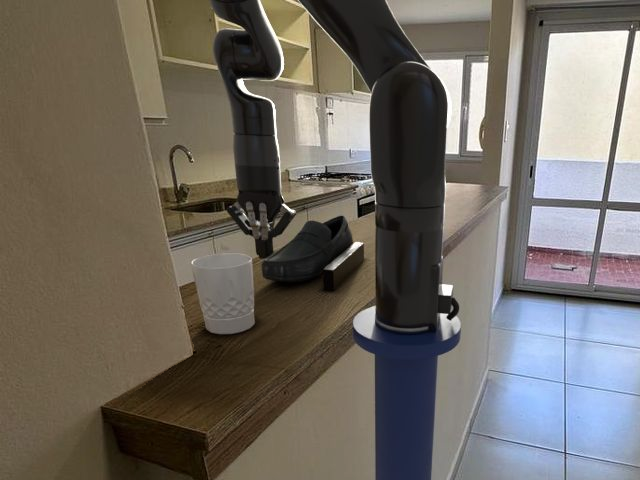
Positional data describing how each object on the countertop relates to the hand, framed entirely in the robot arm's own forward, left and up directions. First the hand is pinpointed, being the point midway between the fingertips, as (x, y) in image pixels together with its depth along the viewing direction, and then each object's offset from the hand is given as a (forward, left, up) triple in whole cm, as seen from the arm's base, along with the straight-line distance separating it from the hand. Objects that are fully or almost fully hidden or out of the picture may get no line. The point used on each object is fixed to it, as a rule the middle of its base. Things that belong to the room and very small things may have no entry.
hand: (265, 257), depth 85 cm
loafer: (-6, -8, -5) cm, 11 cm away
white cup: (-5, +22, -4) cm, 23 cm away
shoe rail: (-14, -7, -4) cm, 16 cm away
